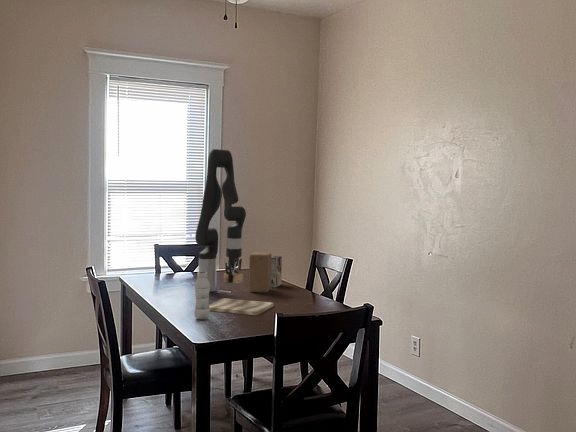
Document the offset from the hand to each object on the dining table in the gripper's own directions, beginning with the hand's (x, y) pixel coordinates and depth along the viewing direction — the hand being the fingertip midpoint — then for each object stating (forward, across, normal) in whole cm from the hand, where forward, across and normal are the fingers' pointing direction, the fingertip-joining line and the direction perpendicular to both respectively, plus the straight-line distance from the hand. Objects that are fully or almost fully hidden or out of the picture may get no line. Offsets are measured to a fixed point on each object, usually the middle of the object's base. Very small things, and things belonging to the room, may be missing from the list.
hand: (233, 280), depth 287 cm
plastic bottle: (+9, +41, +6) cm, 42 cm away
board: (+9, +16, +11) cm, 21 cm away
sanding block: (+1, 0, 0) cm, 1 cm away
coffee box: (+10, -40, +6) cm, 42 cm away
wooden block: (+9, -24, +5) cm, 26 cm away
